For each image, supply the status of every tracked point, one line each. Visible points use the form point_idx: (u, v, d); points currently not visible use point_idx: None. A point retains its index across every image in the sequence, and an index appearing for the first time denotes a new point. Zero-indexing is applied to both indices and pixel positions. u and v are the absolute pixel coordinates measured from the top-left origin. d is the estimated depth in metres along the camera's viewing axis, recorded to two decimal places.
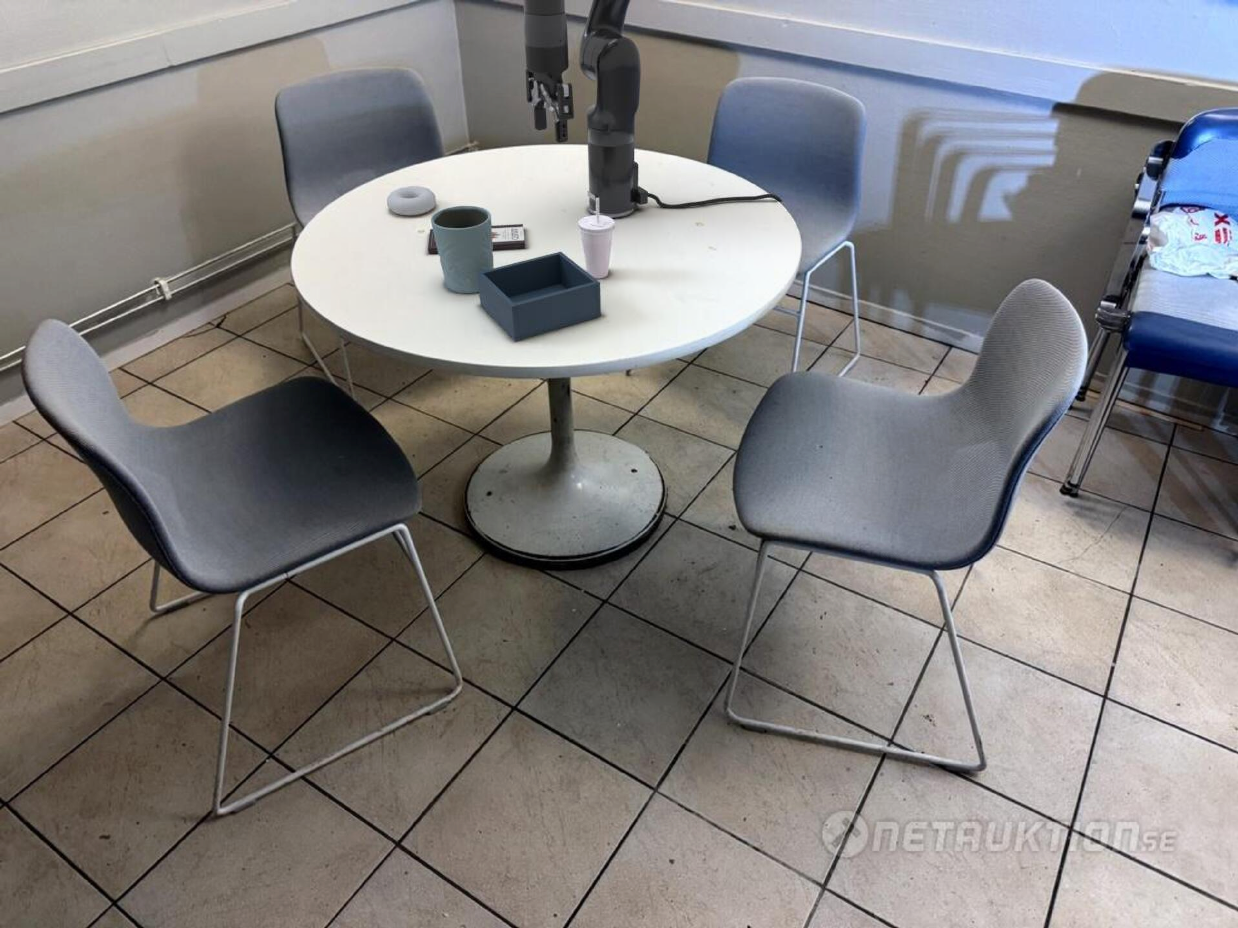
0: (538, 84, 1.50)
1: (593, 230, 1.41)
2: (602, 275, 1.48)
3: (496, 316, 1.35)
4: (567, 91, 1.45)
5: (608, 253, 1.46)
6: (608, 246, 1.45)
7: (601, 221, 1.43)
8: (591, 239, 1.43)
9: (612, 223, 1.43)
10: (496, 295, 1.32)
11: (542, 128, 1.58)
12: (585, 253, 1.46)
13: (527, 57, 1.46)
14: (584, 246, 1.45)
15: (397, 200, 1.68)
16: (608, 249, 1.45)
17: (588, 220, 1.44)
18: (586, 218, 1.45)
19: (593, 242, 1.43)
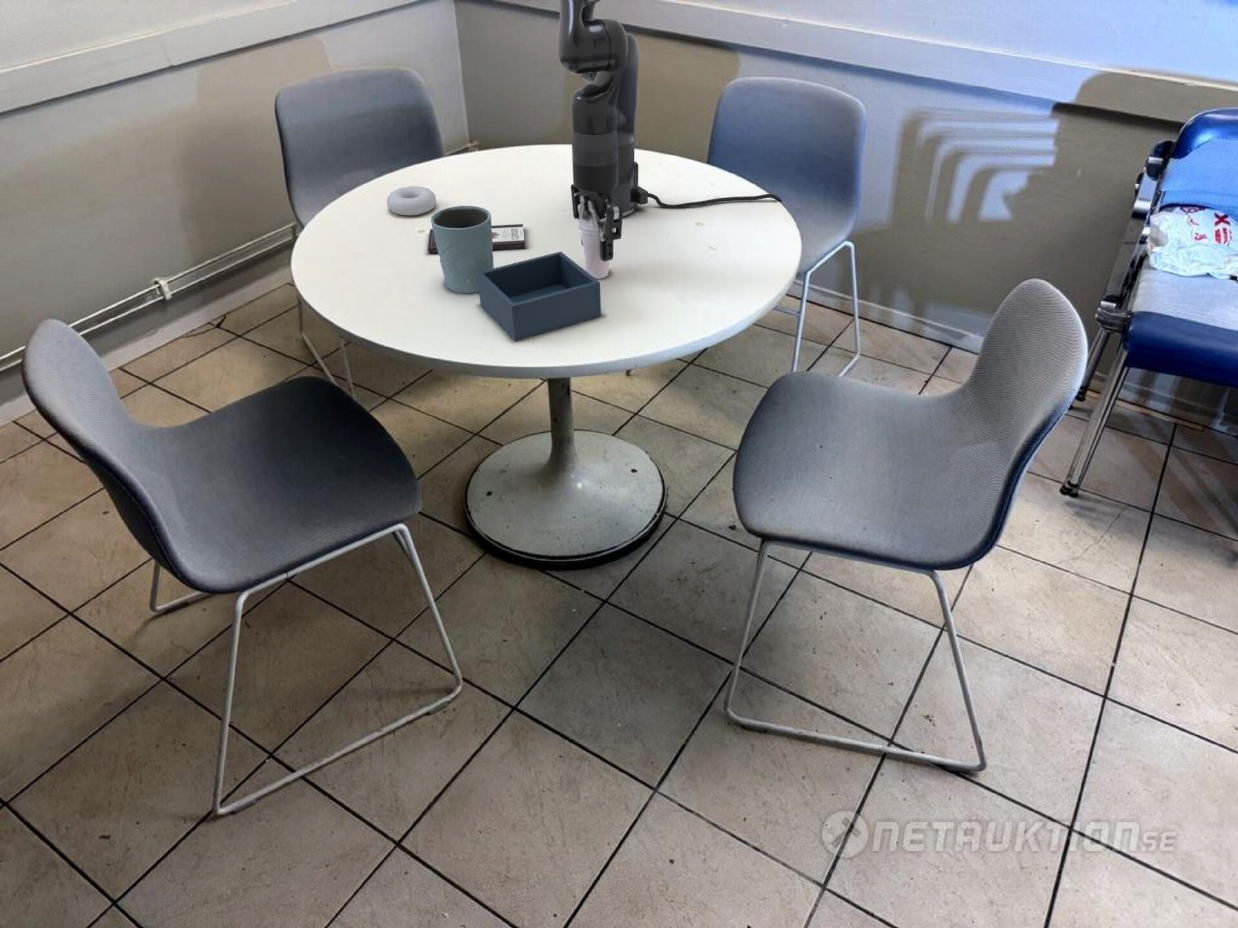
0: (585, 199, 1.41)
1: (593, 230, 1.41)
2: (602, 275, 1.48)
3: (496, 316, 1.35)
4: (617, 214, 1.37)
5: None
6: None
7: (601, 221, 1.43)
8: (591, 239, 1.43)
9: None
10: (496, 295, 1.32)
11: None
12: (585, 253, 1.46)
13: (575, 174, 1.36)
14: (584, 246, 1.45)
15: (397, 200, 1.68)
16: None
17: (588, 220, 1.44)
18: (586, 218, 1.45)
19: (593, 242, 1.43)
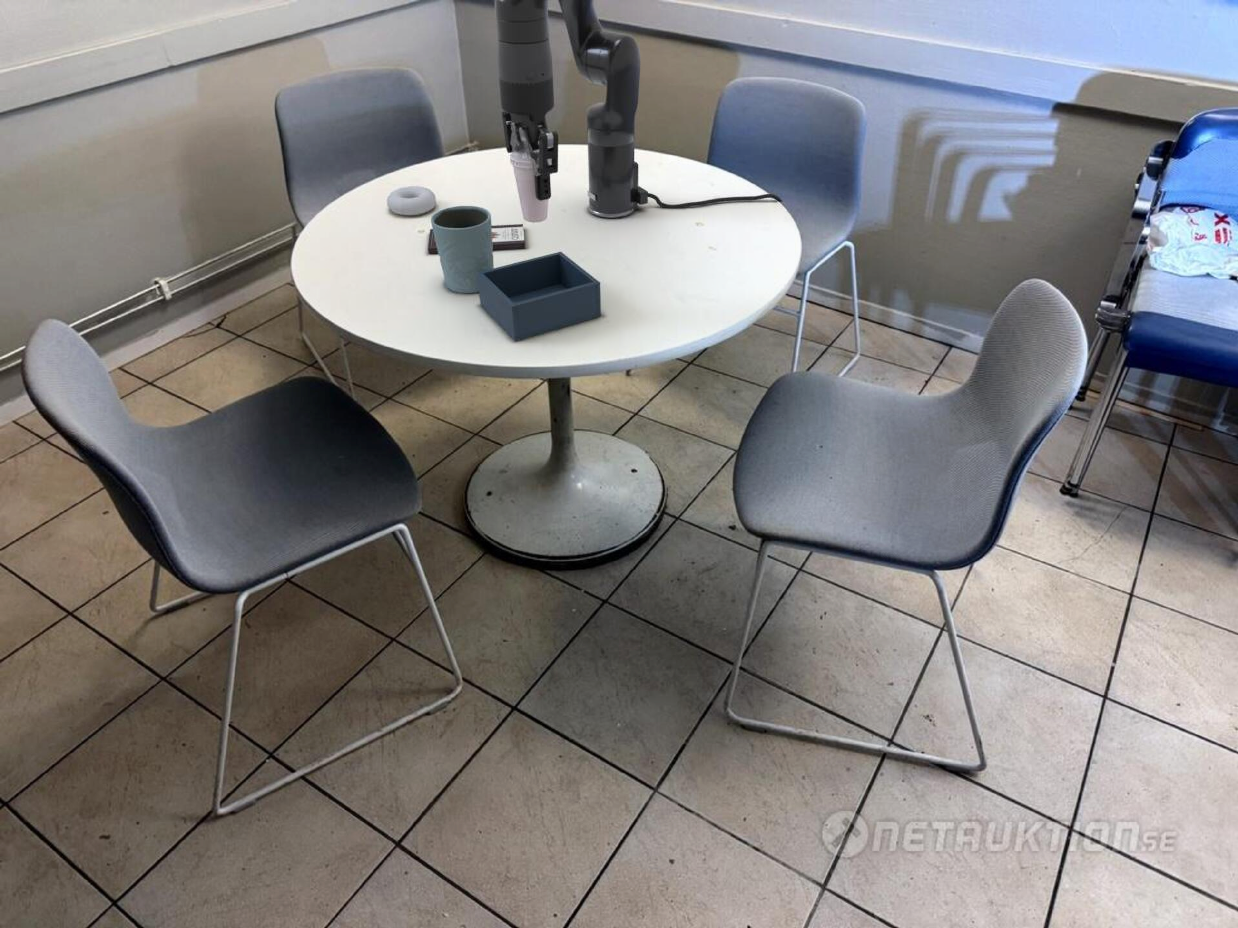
0: (516, 127, 1.21)
1: (526, 163, 1.21)
2: (539, 218, 1.28)
3: (496, 316, 1.35)
4: (552, 142, 1.17)
5: None
6: None
7: None
8: (525, 174, 1.22)
9: None
10: (496, 295, 1.32)
11: None
12: (519, 192, 1.26)
13: (502, 94, 1.16)
14: (517, 183, 1.25)
15: (397, 200, 1.68)
16: None
17: (522, 153, 1.24)
18: (520, 151, 1.25)
19: (527, 178, 1.23)
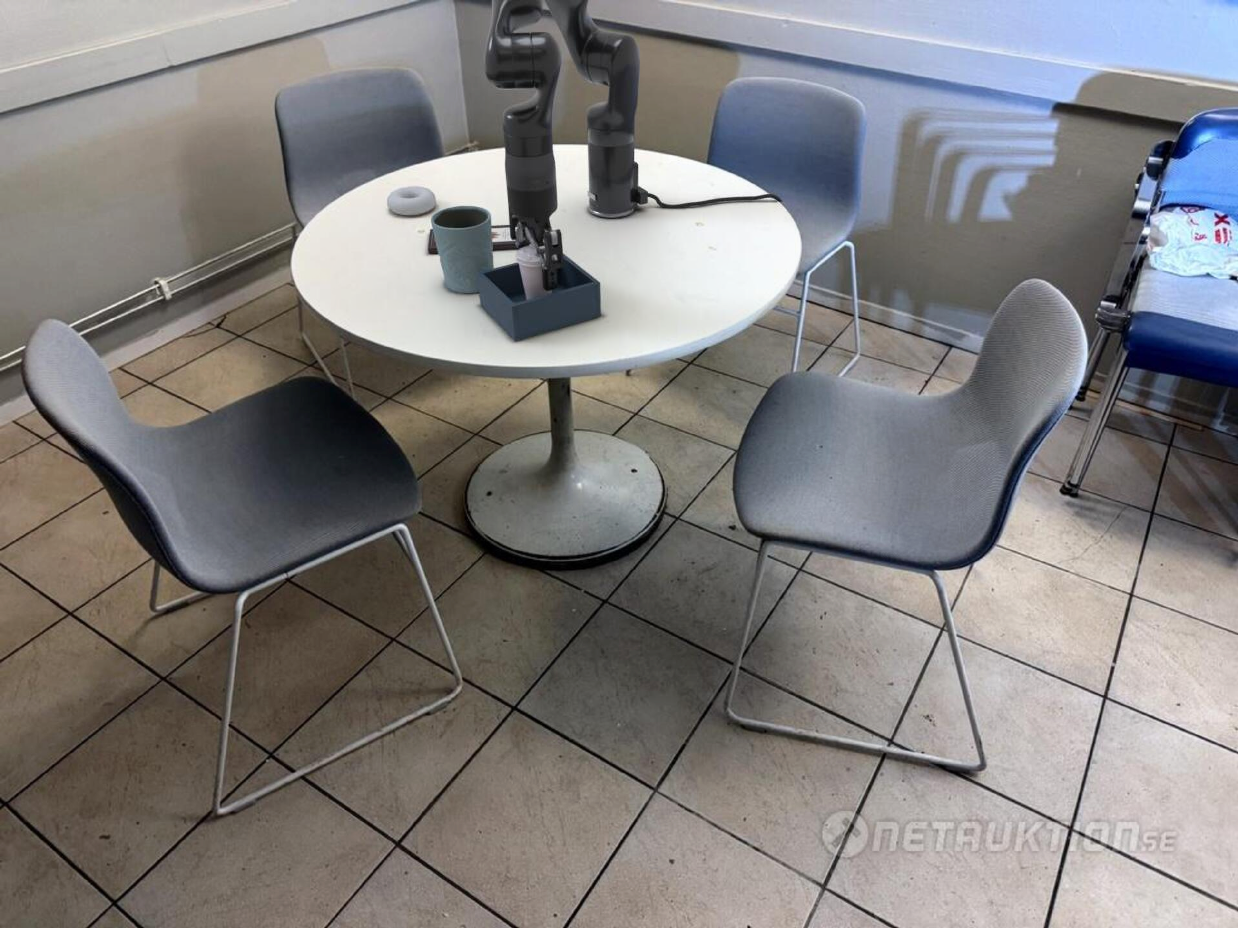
0: (522, 226, 1.29)
1: (531, 262, 1.30)
2: None
3: (496, 316, 1.35)
4: (556, 239, 1.25)
5: None
6: None
7: None
8: (530, 271, 1.32)
9: None
10: (496, 295, 1.32)
11: None
12: (524, 286, 1.35)
13: (509, 199, 1.25)
14: (523, 278, 1.34)
15: (397, 200, 1.68)
16: None
17: (527, 250, 1.33)
18: (525, 248, 1.34)
19: (532, 275, 1.32)
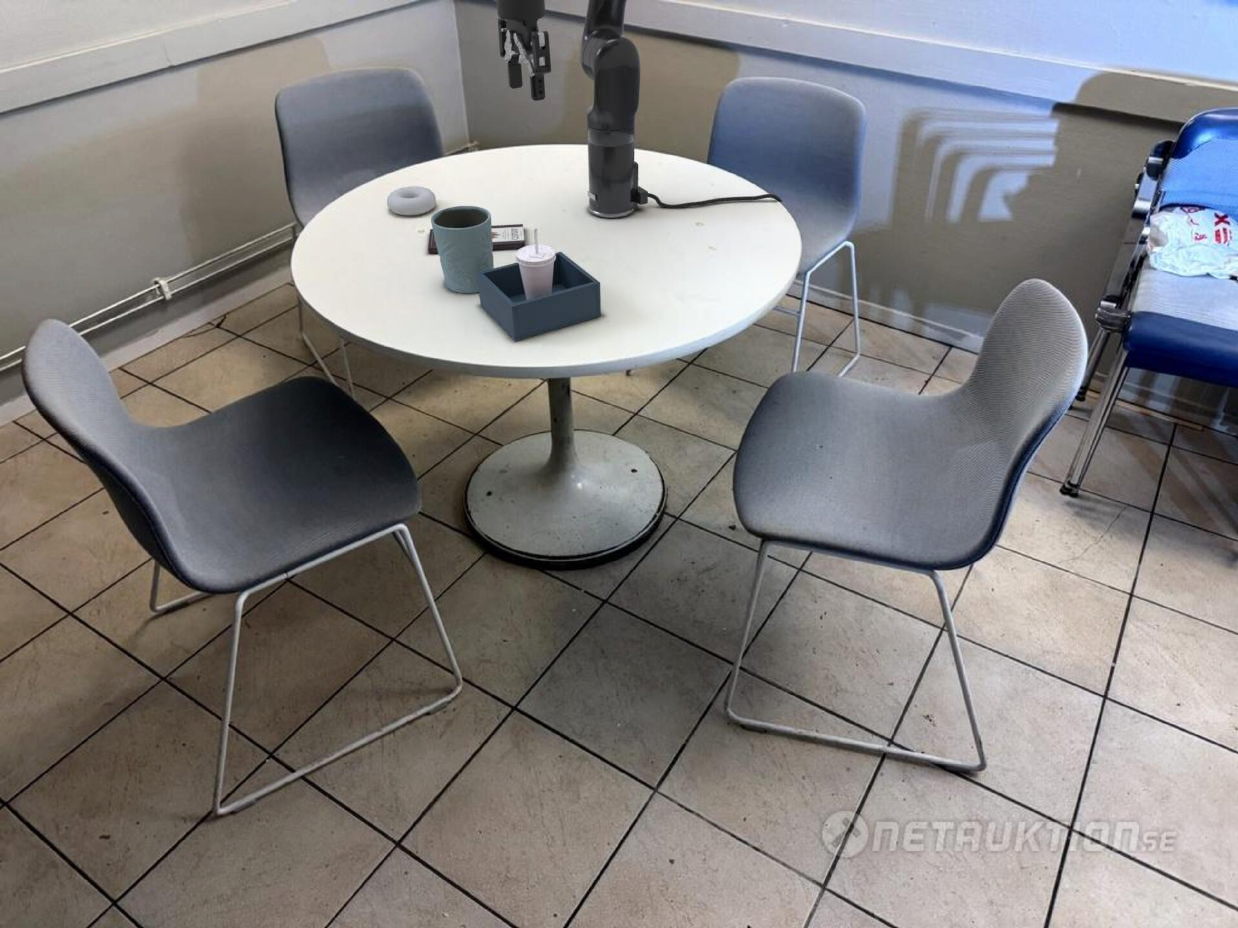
0: (511, 34, 1.33)
1: (531, 262, 1.30)
2: None
3: (496, 316, 1.35)
4: (543, 40, 1.29)
5: (549, 286, 1.35)
6: (548, 279, 1.34)
7: (540, 252, 1.32)
8: (530, 271, 1.32)
9: (552, 254, 1.32)
10: (496, 295, 1.32)
11: (517, 86, 1.42)
12: (524, 286, 1.35)
13: (498, 1, 1.29)
14: (523, 278, 1.34)
15: (397, 200, 1.68)
16: (549, 282, 1.34)
17: (527, 250, 1.33)
18: (525, 248, 1.34)
19: (532, 275, 1.32)
